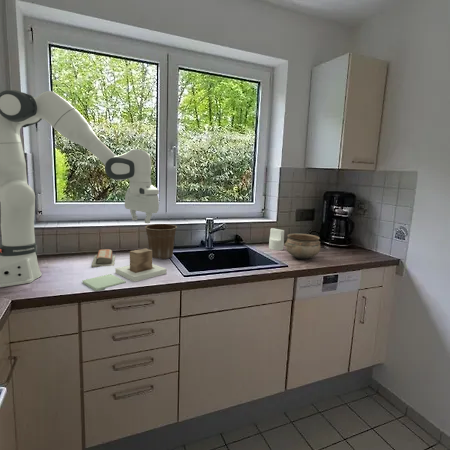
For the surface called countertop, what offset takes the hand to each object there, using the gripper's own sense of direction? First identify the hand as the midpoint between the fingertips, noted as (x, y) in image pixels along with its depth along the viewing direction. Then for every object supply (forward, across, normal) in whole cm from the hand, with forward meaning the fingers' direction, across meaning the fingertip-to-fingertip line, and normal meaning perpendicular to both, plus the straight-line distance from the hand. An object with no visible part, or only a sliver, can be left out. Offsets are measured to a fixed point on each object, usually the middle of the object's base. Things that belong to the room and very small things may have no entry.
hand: (140, 221), depth 134 cm
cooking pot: (+24, +34, +81) cm, 91 cm away
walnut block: (+23, 0, 0) cm, 23 cm away
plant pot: (+24, -18, +24) cm, 38 cm away
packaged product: (+24, -28, -3) cm, 37 cm away
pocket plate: (+23, 0, 0) cm, 23 cm away
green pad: (+23, 0, -17) cm, 29 cm away
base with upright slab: (+24, +12, +89) cm, 93 cm away
